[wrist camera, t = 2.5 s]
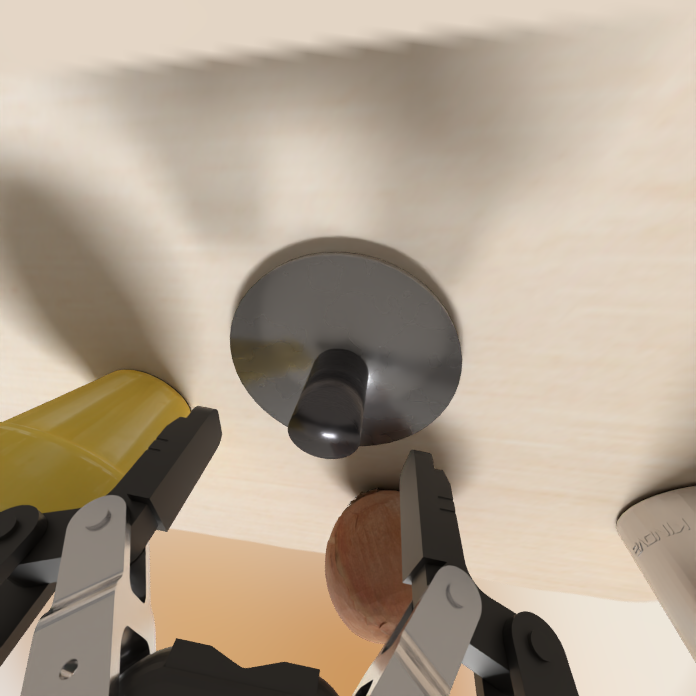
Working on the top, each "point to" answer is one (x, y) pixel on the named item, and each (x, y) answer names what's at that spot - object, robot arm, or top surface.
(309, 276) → the lid
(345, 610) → the onion
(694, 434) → the top surface
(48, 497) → the plant pot
